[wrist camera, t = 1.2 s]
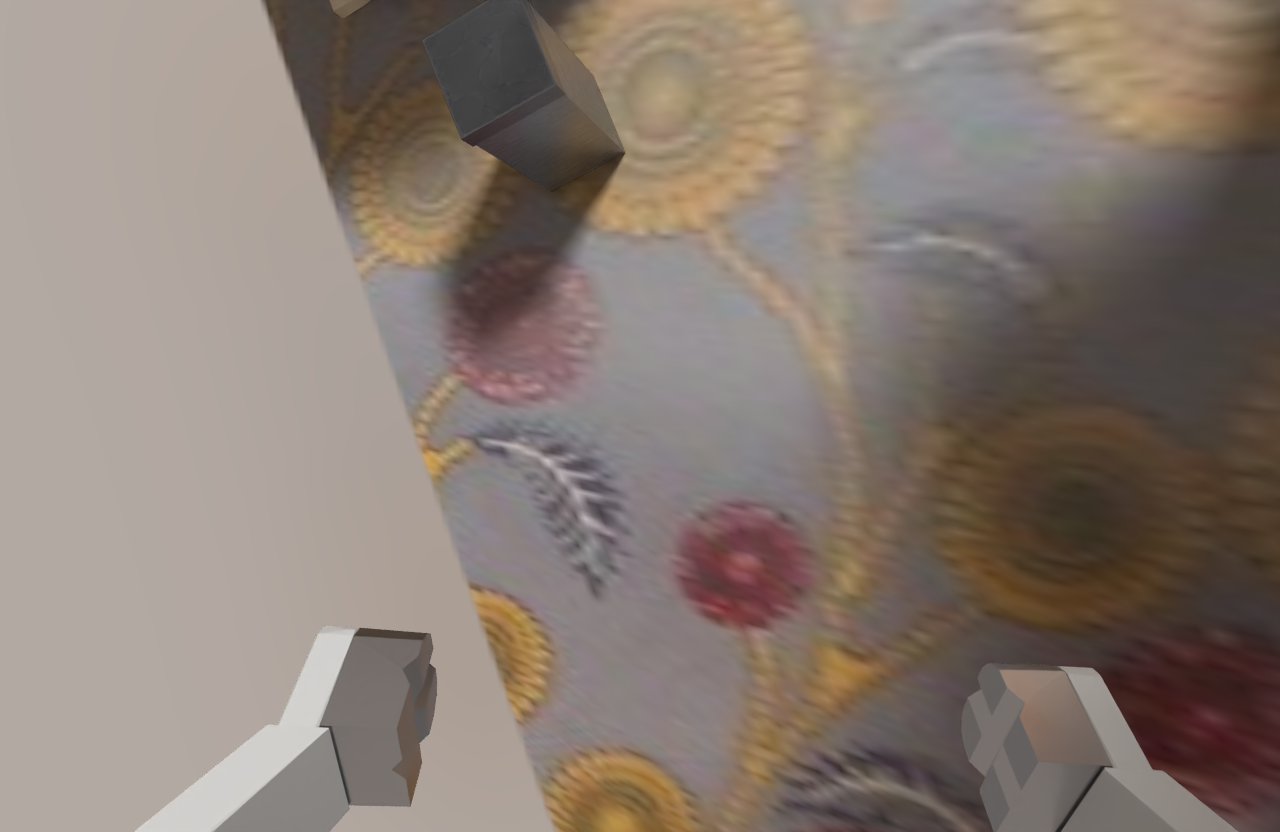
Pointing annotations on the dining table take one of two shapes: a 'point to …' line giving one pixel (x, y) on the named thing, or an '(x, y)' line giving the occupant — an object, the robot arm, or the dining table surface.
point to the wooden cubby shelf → (347, 6)
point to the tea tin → (522, 93)
